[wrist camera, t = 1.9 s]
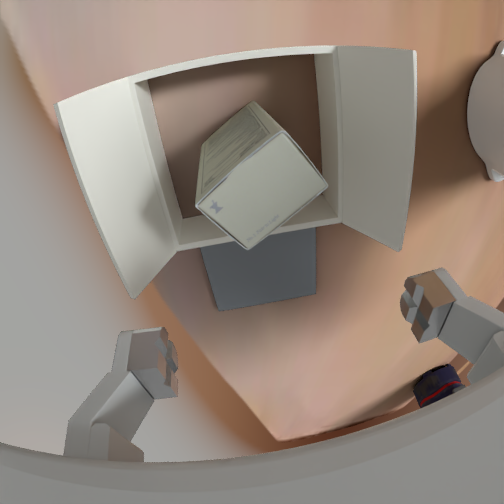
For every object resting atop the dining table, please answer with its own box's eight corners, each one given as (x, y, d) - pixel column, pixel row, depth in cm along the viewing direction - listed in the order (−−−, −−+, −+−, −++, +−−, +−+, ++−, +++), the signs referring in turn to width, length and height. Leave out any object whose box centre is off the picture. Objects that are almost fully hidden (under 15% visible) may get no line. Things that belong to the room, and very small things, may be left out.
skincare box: (233, 176, 28) (245, 256, 18) (198, 143, 26) (189, 208, 16) (286, 132, 26) (333, 189, 16) (253, 95, 24) (283, 127, 14)
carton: (354, 46, 21) (418, 51, 13) (357, 195, 30) (402, 251, 23) (104, 84, 21) (51, 105, 13) (148, 231, 30) (130, 300, 22)
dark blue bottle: (440, 381, 66) (478, 472, 42) (405, 394, 65) (441, 493, 42) (462, 351, 58) (511, 453, 34) (424, 365, 57) (472, 479, 33)
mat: (314, 221, 32) (315, 224, 31) (314, 290, 38) (315, 293, 37) (199, 241, 32) (199, 245, 31) (218, 307, 38) (218, 311, 37)
